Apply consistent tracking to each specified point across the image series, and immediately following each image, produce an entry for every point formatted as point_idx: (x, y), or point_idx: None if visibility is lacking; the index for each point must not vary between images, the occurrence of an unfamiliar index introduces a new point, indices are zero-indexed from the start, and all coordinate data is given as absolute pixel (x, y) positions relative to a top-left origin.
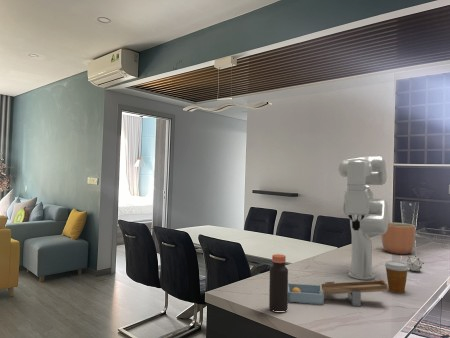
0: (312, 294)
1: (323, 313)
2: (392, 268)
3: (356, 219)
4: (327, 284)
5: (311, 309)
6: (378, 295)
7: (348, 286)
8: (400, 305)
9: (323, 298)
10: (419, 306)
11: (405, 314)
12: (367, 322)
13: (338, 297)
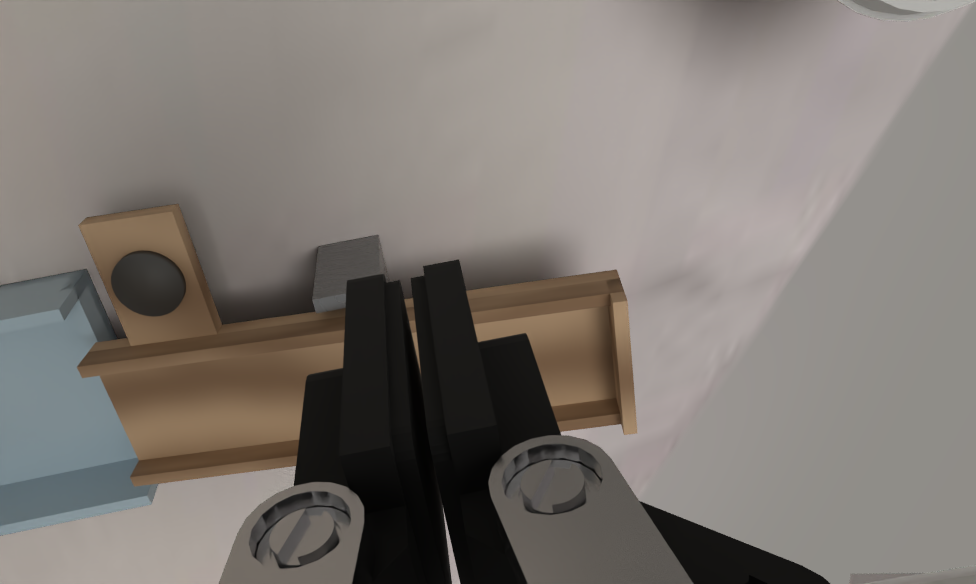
0: (68, 518)
1: (196, 566)
2: (841, 1)
3: (473, 552)
4: (135, 369)
5: (111, 543)
6: (577, 88)
7: (323, 347)
8: (689, 263)
9: (156, 485)
10: (815, 233)
11: (670, 404)
12: None
13: (247, 268)
